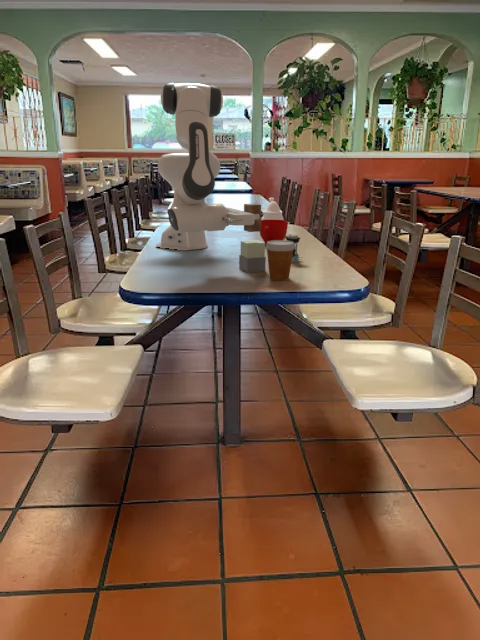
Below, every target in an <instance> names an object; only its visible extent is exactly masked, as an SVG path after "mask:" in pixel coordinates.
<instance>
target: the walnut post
mask: <svg viewBox="0 0 480 640" xmlns="http://www.w3.org/2000/svg"><path fill="white" fill-rule="evenodd" d="M243 211H244V212H248V213H252V214H259V219H256V220H254V224H253V225H243V231H244V232H247V233H253V232H255V233H256V232H258V233H259V232H260V231H261V220H262V204H259V203H244V204H243Z"/></svg>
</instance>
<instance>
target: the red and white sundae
mask: <svg viewBox="0 0 480 640" xmlns="http://www.w3.org/2000/svg"><path fill="white" fill-rule="evenodd" d="M274 200H275V198H274V197H269V198H268V201H269V203H268V204H267V206H266V208H265V210H261V214H263V215H262V216H261V220H285V219H284V216H283V211H282V210H281V208H280V206H279V204H278V202H276V201H274ZM258 234H259V236H260V237H261V235H260V232H258Z"/></svg>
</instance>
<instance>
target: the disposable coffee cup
mask: <svg viewBox="0 0 480 640" xmlns="http://www.w3.org/2000/svg"><path fill="white" fill-rule="evenodd" d="M294 248H296V245H295V246H294V242H291V241H287V240H286V239H285V240H284V239H283V240H273V241H268V242H267V244H265V250H266V253H267V254H266V255H267V263H268V274H269V275H268V276H269V279H270V280H272V281H280V282H281V281H287V280H289V279H290V272H291V267H292V262H291V261H292V255H293V250H294Z"/></svg>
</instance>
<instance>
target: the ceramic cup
mask: <svg viewBox="0 0 480 640" xmlns="http://www.w3.org/2000/svg"><path fill="white" fill-rule="evenodd" d="M287 231H288V220H285V219H283V220H262V219H261V231H259V233H260V235H261V236H260V235H259V236H260V237H261V239H262V240H263V241H262V242H264V243H265V245H267V242H268V241H273V240H284V239H286V237H287V236H286V235H287V233H288V232H287Z"/></svg>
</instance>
